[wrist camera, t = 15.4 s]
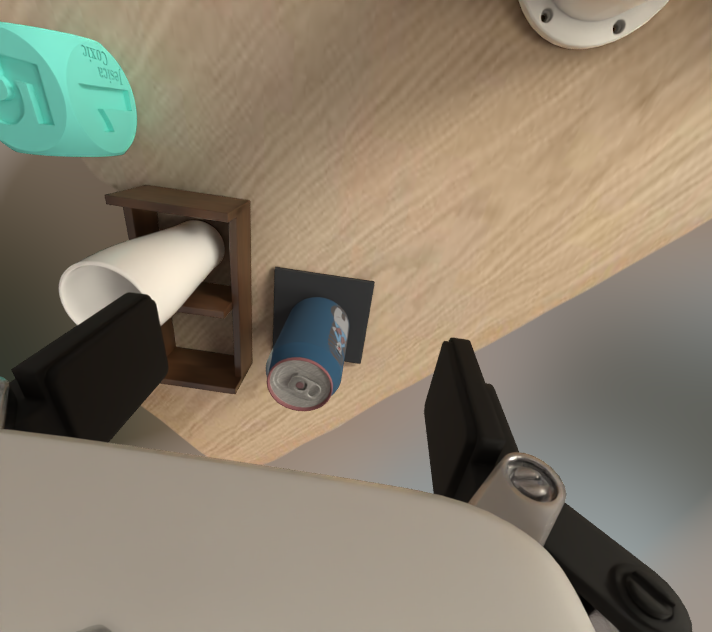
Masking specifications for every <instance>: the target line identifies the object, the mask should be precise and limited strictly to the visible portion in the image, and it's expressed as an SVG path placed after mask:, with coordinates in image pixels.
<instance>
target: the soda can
mask: <svg viewBox="0 0 712 632" xmlns="http://www.w3.org/2000/svg"><path fill="white" fill-rule="evenodd" d="M348 333H349V320H348V317H347V315H346V313H345V312H344V310H343V309H342V308H341V307H340V306H339V305H338V304H337V303H335V302H333V301H331V300H329V299H326V298H321V297H312V298H307V299H304V300H302V301H300V302H299V303H297V304H296V305H295V306H294V307H293V309H292V310H291V312H290V314H289V316H288V318H287V320H286V322H285V324H284V327H283V329H282V331H281V333H280V335H279V337H278V339H277V341H276V343H275V345H274V347H273V349H272V351H271V353H270V355H269V358H268V360H267V363H266V375H267V387H268V390H269V392H270V394H271V396H272V397H273V398H274V399H275V400H276V401H277V402H278V403H279V404H281V405H282V406H284V407H286V408H289V409H292V410H296V411H311V410H315V409H318V408H320V407H322V406H323V405H324V404H326V403H327V402H328V400H329V399H330V397H331V396H332V395H333V394H334V393H335V392H336V390H337V389H338V387H339V385H340V382H341V377H342V371H343V365H344V358H345V352H346V346H347V340H348Z"/></svg>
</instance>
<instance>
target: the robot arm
mask: <svg viewBox="0 0 712 632" xmlns="http://www.w3.org/2000/svg"><path fill="white" fill-rule="evenodd" d="M668 1H669V0H519V3H520V6H521V9H522V12H523V14H524V15H525V17H526V19H527V20H528V22H529V24H530V25H531V27H532V28H533V29H534V30H535V31H536V32H537V33H538V34H539V35H540V36H541V37H542V38H544V39H545V40H547V41H549V42H550V43H552V44H554V45H557V46H560V47H564V48H567V49H589V48H595V47H600V46H603V45H605V44H608V43H611V42H614V41H616V40H618V39H620V38H622V37H624V36H626V35H628V34H630V33H632V32H634V31H635V30H636V29H638V28H639V27H641V26H642V25H643V24H645V23H646V22H648V21H649V20H650V19H651V18H652V17H653V16H654V15H655V14H656V13H658V12H659V11H660V10H661V9H662V8H663V7H664V6H665V5H666V4H667V3H668ZM541 15H544V16H545V21H544V22H542V21H541ZM613 26H614V27H615V31H614V33H613ZM168 368H169V366H168V360H167V355H166V350H165V345H164V340H163V335H162V330H161V325H160V320H159V315H158V310H157V305H156V302H155V301H154V300H152V299H151V297H150V296H149V295H147V294H140V293H133V292H128V293H125V294H124V295H122V296H121V297H119V298H118V299H116V300H115V301H113V302H112V303H110V304H109V305H107V306H106V307H104V308H103V309H101V310H100V311H98V312H97V313H95V314H94V315H92V316H91V317H89V318H88V319H86V320H85V321H83V322H82V323H80V324H79V325H77V326H76V327H74V328H73V329H71V330H70V331H68V332H67V333H65V334H64V335H62V336H61V337H59V338H58V339H56V340H55V341H53V342H52V343H50V344H49V345H47V346H46V347H45V348H43V349H41V350H40V351H38V352H37V353H35V354H34V355H32V356H31V357H29V358H28V359H26V360H25V361H23V362H22V363H20V364H19V365H17V366H16V367H14V368H13V369H12V372H13V374H14V376H15V378H16V379H14V380H13V381H12V382H10V383H9V382H8V381H7V380H6V379H4V378H3V377H0V632H692V623H691V620H690V617H689V615H688V612H687V610H686V608H685V606H684V605H683V603H682V601H681V600H680V598H679V597H678V595H677V594H676V593H675V591H674V590H673V589H672V588H671V587H670V586H669V584H668V583H667V582H666V581H665V580H663V579H662V578H661V577H660V576H659V575H658V574H657V573H656V572H654V571H653V570H652V569H651V568H649V567H648V566H647V565H645V564H644V563H643V562H641V561H640V560H639V559H638V558H636V557H635V556H633V555H632V554H631V553H630V552H628V551H627V550H626V549H625V548H623V547H622V546H621V545H619V544H618V543H617V542H616V541H614V540H613V539H611V538H610V537H609V536H608V535H606V534H605V533H604V532H603V531H601V530H600V529H599V528H597V527H596V526H595V525H593V524H592V523H591V522H589V521H588V520H587V519H586V518H584V517H583V516H582V515H580V514H579V513H578V512H577V511H575V510H574V509H573V508H571V507H570V506H569V505H567V504H566V503H565V499H566V490H565V486H564V484H563V482H562V480H561V479H560V477H559V476H558V474H557V473H556V472H555V471H554V470H553V469H552V468H551V467H550V466H549V465H547V464H546V463H545V462H544V461H542V460H540V459H538V458H536V457H534V456H532V455H529V454H526V453H519V451H518V448H517V445H516V443H515V440H514V438H513V435H512V433H511V430H510V427H509V425H508V423H507V420H506V417H505V415H504V412H503V410H502V407H501V404H500V402H499V399H498V397H497V394H496V391H495V389H494V387H493V386H492V385H491V384H487V383H485V381H484V378H483V376H482V373H481V370H480V367H479V365H478V362H477V359H476V356H475V354H474V351H473V348H472V345H471V342H470V341H469V340H466V339H458V338H450V340H449V342H448V341H444V342H443V344H442V347H441V350H440V354H439V357H438V361H437V364H436V367H435V371H434V374H433V378H432V381H431V385H430V388H429V392H428V395H427V399H426V402H425V409H424V415H425V424H426V432H427V441H428V449H429V457H430V466H431V474H432V482H433V491H434V494H432V493H427V492H423V491H418V490H413V489H408V488H402V487H396V486H390V485H384V484H378V483H373V482H367V481H361V480H355V479H348V478H342V477H335V476H329V475H323V474H316V473H309V472H303V471H296V470H290V469H284V468H277V467H271V466H264V465H258V464H251V463H244V462H238V461H231V460H224V459H217V458H211V457H204V456H197V455H190V454H183V453H177V452H170V451H163V450H156V449H149V448H142V447H135V446H128V445H121V444H114V443H108V442H109V441H110V440H111V439H112V438H113V436H114V435H115V434H116V433H117V432H118V431H119V430H120V428H121V427H122V426H123V425H124V424H125V423H126V421H127V420H128V419H129V418H130V417H131V416H132V414H133V413H134V412H135V411H136V410H137V409H138V408H139V406H140V405H141V404H142V403H143V402H144V401H145V400H146V398H147V397H148V396H149V395H150V394H151V393H152V391H153V390H154V389H155V388H156V387H157V386H158V385H159V383H160V382H161V381H162V380H163V379H164V378H165V376H166V375H167V373H168Z"/></svg>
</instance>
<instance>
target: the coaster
mask: <svg viewBox="0 0 712 632" xmlns="http://www.w3.org/2000/svg"><path fill="white" fill-rule="evenodd" d="M373 289H374V281H367V280H360V279H353V278H347V277H340V276H333V275H327V274H320V273H313V272H306V271H300V270H293V269H286V268H280V267H275V275H274V319H273V347H274V345H275V343H276V341H277V339H278V337H279V335H280V333H281V331H282V329H283V327H284V324H285V322H286V320H287V318H288V316H289V314H290V312H291V310H292V309H293V307H294V306H295V305H296V304H297V303H299V302H300V301H302V300H304V299H307V298H312V297H321V298H326V299H329V300H331V301H333V302H335V303H337V304H338V305H339V306H340V307H341V308H342V309H343V310H344V312H345V313H346V315H347V317H348V320H349V333H348V340H347V346H346V352H345V358H344V361H345V362H351V363H358V364H360V363H361V358H362V352H363V346H364V341H365V335H366V329H367V323H368V318H369V312H370V306H371V300H372V295H373Z"/></svg>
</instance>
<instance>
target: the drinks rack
mask: <svg viewBox="0 0 712 632" xmlns="http://www.w3.org/2000/svg"><path fill="white" fill-rule="evenodd" d="M105 199H106V204H109V205H116V206H122V207H123V210H124V215H125V221H126V226H127V232H128V237H129V240H131V239H134V238H138V237H141V236H145V235H148V234H151V233H155V232H158V231H160V230H159V223H158V216H157V212H162V213H169V214H175V215H182V216H189V217H195V218H202V219H209V220H215V221H222V222H228V224H229V247H230V271H231V286H229V285H222V284H215V283H208V282H202V283H201V284H200V285H199V286H198V287H197V288H196V290H195V291H194V292H193V293H192V294H191V296H190V297H189V298H188V299H187V300H186V301H185V303H184V304H183V305H182V306H181V307H180V308H179V310H178V311H177V312H182V313H189V314H196V315H203V316H210V317H216V318H223V319H224V318H225V317H226V316H227V315H228V313H229V312H230V311H231V310H232V317H233V341H234V356H233V355H226V354H220V353H213V352H206V351H199V350H192V349H185V348H178V347H176V345H175V338H174V330H173V323H172V317H171V318H170V319H168V320H167V321H166V322H165V323H164V324H163V325H162V326H161V330H162V335H163V340H164V345H165V350H166V355H167V360H168V366H169V368H168V373H167V375H166V376H165V378H164V379H163V380H162V381H161V382H160V383H161V384H168V385H175V386H182V387H188V388H195V389H202V390H209V391H216V392H223V393H230V394H236V392H237V390H238V389H239V387H240V385H241V383H242V381H243V379H244V378H245V376H246V374H247V372H248V370H249V368H250V367H251V365H252V298H251V215H250V200H243V199H236V198H230V197H223V196H216V195H210V194H203V193H197V192H190V191H183V190H177V189H170V188H163V187H157V186H150V185H144V186H139V187H135V188H131V189H127V190H123V191H119V192H115V193H111V194H106V195H105Z"/></svg>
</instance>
